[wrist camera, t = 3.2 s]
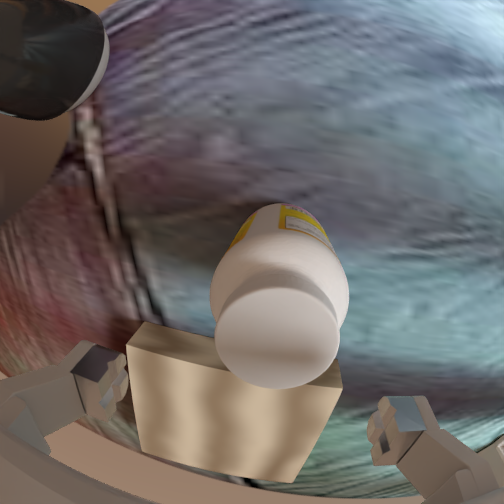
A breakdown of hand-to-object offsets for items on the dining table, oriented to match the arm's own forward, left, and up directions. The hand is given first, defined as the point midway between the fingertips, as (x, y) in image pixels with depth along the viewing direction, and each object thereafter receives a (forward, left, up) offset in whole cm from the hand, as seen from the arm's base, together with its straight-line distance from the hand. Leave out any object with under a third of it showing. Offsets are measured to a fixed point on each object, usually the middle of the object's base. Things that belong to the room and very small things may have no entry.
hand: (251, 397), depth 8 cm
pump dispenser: (+19, -13, -16) cm, 28 cm away
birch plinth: (+1, +18, -15) cm, 24 cm away
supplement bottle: (-1, 0, -16) cm, 16 cm away
